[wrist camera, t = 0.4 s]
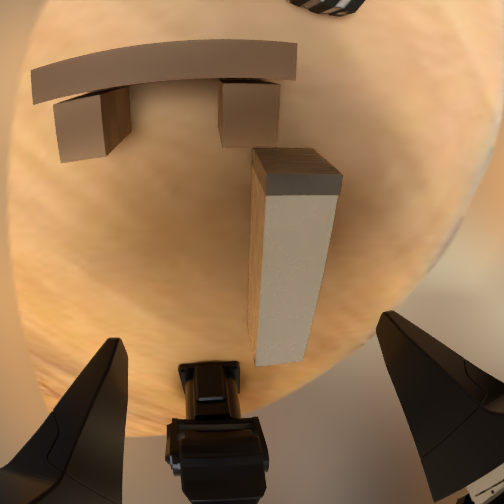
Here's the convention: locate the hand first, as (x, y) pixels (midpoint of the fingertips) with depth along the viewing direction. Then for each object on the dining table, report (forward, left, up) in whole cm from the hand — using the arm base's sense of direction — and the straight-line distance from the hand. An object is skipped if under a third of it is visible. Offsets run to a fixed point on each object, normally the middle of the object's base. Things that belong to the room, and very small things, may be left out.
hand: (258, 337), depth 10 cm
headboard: (+6, +3, -13) cm, 14 cm away
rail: (-5, -4, -13) cm, 15 cm away
